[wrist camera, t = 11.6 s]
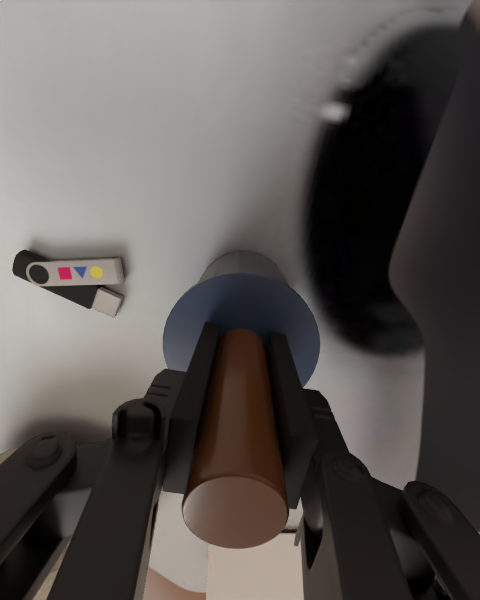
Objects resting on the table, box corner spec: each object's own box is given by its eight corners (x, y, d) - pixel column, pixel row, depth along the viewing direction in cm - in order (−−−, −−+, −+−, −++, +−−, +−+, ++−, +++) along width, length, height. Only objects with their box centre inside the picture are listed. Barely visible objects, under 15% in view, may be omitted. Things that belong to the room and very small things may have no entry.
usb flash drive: (19, 272, 23) (10, 275, 22) (34, 214, 21) (24, 214, 20) (116, 316, 24) (111, 320, 23) (137, 264, 22) (132, 266, 21)
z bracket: (214, 516, 38) (209, 532, 32) (396, 519, 37) (423, 536, 31) (210, 641, 33) (202, 687, 27) (420, 648, 32) (458, 696, 26)
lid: (174, 256, 14) (51, 335, 5) (331, 281, 14) (474, 399, 5) (163, 389, 16) (69, 595, 8) (296, 409, 17) (352, 630, 8)
